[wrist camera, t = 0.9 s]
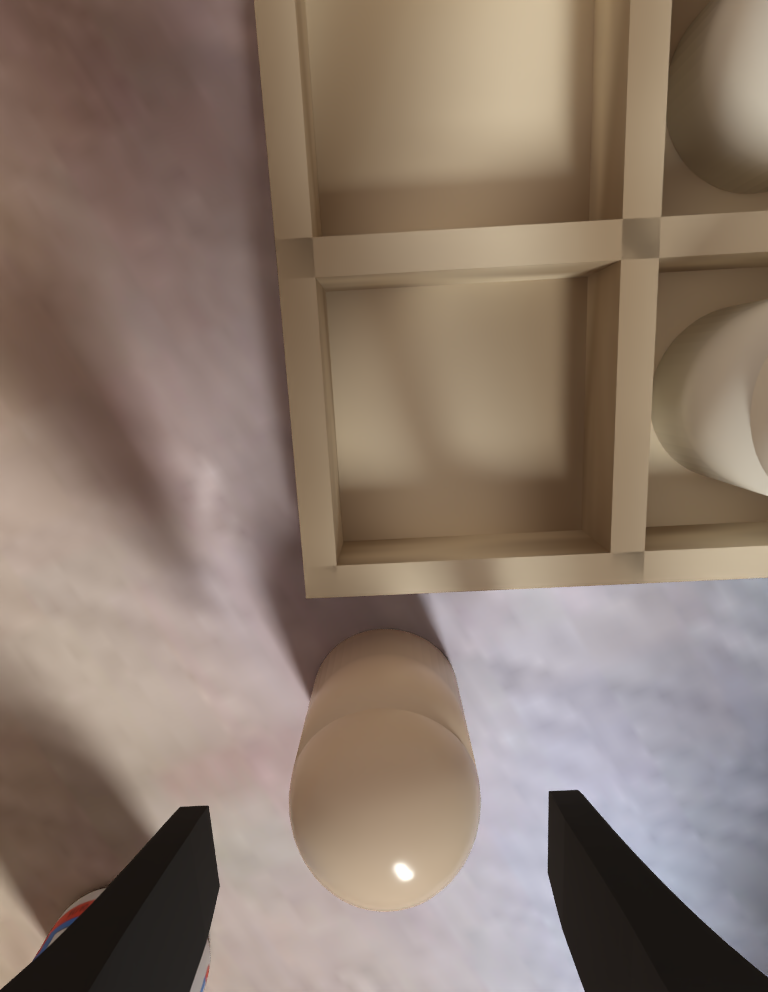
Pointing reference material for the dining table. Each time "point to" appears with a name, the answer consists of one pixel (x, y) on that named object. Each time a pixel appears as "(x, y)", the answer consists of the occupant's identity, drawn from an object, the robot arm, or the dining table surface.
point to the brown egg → (385, 773)
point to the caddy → (495, 294)
